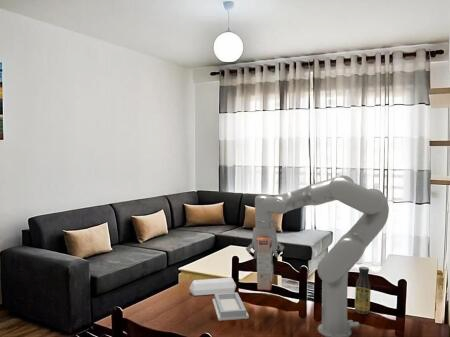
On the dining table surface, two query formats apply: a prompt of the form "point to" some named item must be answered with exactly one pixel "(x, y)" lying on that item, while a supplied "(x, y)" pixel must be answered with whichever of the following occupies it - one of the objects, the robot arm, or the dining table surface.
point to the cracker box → (264, 263)
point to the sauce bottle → (362, 292)
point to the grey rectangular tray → (229, 307)
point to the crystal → (212, 286)
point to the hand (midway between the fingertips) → (265, 266)
